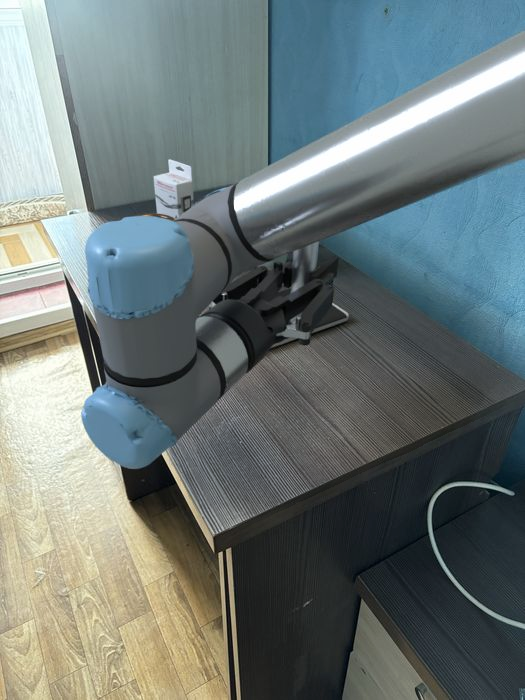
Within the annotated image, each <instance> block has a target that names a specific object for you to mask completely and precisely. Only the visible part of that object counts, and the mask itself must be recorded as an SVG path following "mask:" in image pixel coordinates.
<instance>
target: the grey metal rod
mask: <svg viewBox="0 0 525 700" xmlns="http://www.w3.org/2000/svg"><path fill="white" fill-rule="evenodd" d="M319 245H320V241H318V242H316V243H313V244H311V245H308V246H306V247H303V248H301V249H298V250H296V251H293V252H292V261H293V262H292V261H291V262H292V277H291V287H290V288H291V293H292V292H294V291H295V290H297V289H299V288H301V287H302V286H304V285H306V284H307V283H309V282H310V280H311V275H312V274H313V273H314V272H316V270H317V268H318V267H317V266H318V258H319V257H318V255H319V247H320V246H319ZM301 314H302V313H300V314H298V315H297V316H295V317H294V318H292V319H291V320H290V322H291V324H293V322H294V321H296V317H301Z"/></svg>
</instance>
